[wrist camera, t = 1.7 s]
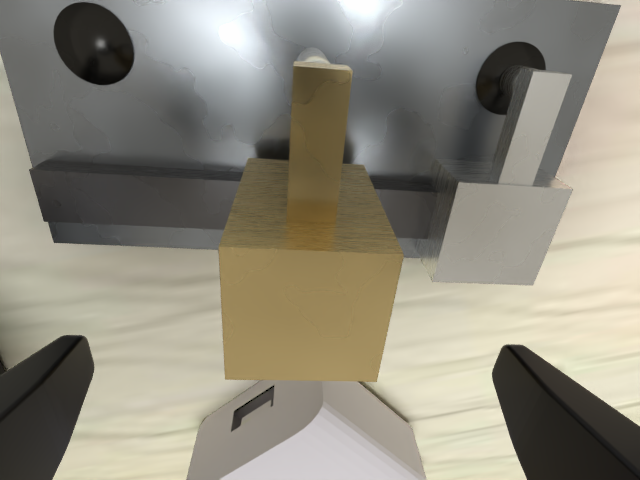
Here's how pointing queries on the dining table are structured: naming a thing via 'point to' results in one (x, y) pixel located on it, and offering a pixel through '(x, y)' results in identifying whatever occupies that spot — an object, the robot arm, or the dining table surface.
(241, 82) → the dividers base
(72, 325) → the dining table surface
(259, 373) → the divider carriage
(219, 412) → the charger
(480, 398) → the dining table surface
